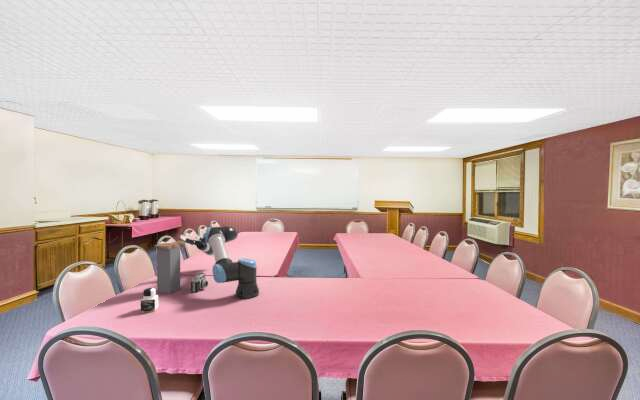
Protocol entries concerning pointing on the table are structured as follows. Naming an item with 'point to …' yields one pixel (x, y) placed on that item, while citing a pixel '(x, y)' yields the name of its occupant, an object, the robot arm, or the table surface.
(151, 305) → the medicine bottle
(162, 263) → the charcoal pedestal
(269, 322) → the table surface
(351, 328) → the table surface
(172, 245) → the walnut paddle board
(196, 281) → the camera
